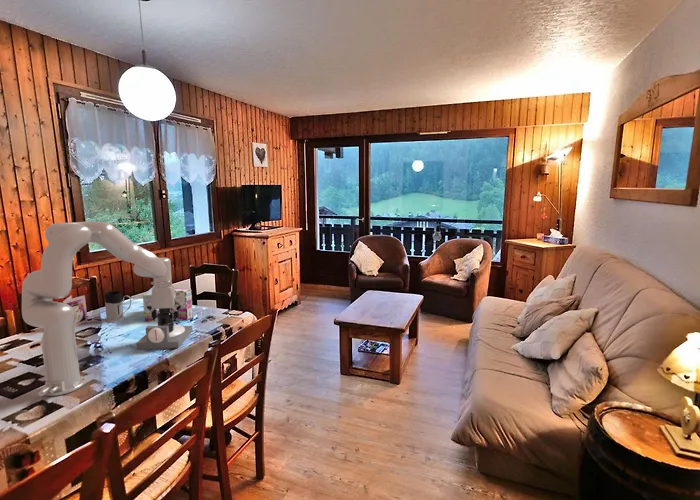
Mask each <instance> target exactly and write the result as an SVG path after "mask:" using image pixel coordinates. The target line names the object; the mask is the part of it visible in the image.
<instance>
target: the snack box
mask: <svg viewBox="0 0 700 500" xmlns="http://www.w3.org/2000/svg"><path fill="white" fill-rule="evenodd" d="M153 287H154V285H153V286H152V287H151V288H150V289H149V290H148V291H146V292H145V293H144V294H143V295H142V299H143V301H142V304H143V321H144V322H154V321H155V320H153V318H152V314H151V312H150V310H149V309H148V308H147V307H146V305H145V302H147V301H149V300H151V294H152V288H153ZM149 304H150V305H151V303H149ZM155 310H156V311H157V315H158V313H160V312H159V309H155Z"/></svg>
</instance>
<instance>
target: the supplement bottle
mask: <svg viewBox="0 0 700 500" xmlns="http://www.w3.org/2000/svg"><path fill="white" fill-rule="evenodd" d="M159 312H160V313H158V315H157V318H156V319H157V320H156V321H157V322H156V323H157V326H169V333H170V332H172V331H173V330H174V325H175V323H174V318H173V313H172V312H171V308H168V309H159Z"/></svg>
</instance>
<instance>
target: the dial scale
mask: <svg viewBox="0 0 700 500" xmlns="http://www.w3.org/2000/svg"><path fill="white" fill-rule="evenodd" d="M191 332H193V325H179V324H178V325H177V324H174V330H173V331H172V332H170V333H169V326H158V325H147V326H146V327H145V335H144V336H143V337H141V338H140V339H139V340H138V341H137V342H136V343H135V344H136V345H135V346H136V350H156V349H157V350H161V349H179V348H180V347H181V346H182V344H183V343H184V342H185V341H186V339H188V338H189V336H190V335H191V334H192V333H191Z"/></svg>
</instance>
